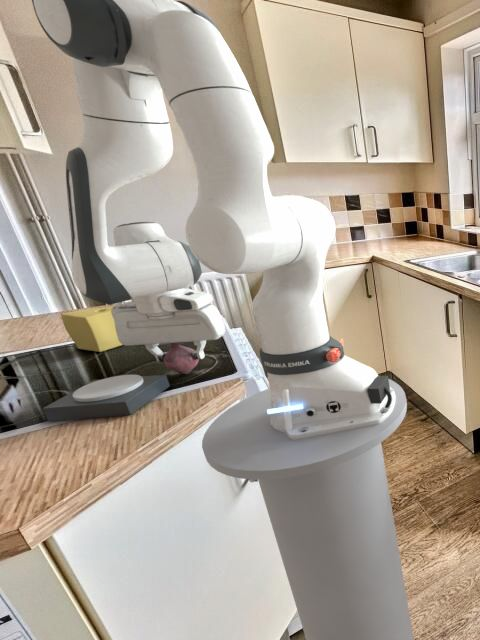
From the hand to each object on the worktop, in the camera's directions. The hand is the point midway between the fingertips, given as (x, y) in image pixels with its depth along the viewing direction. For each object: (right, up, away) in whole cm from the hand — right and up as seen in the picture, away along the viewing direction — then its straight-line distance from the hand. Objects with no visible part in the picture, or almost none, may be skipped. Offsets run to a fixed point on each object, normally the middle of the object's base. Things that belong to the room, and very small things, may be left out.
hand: (181, 359), depth 95 cm
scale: (-5, -8, -11) cm, 14 cm away
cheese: (-37, +3, +22) cm, 43 cm away
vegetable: (0, -4, +1) cm, 4 cm away
